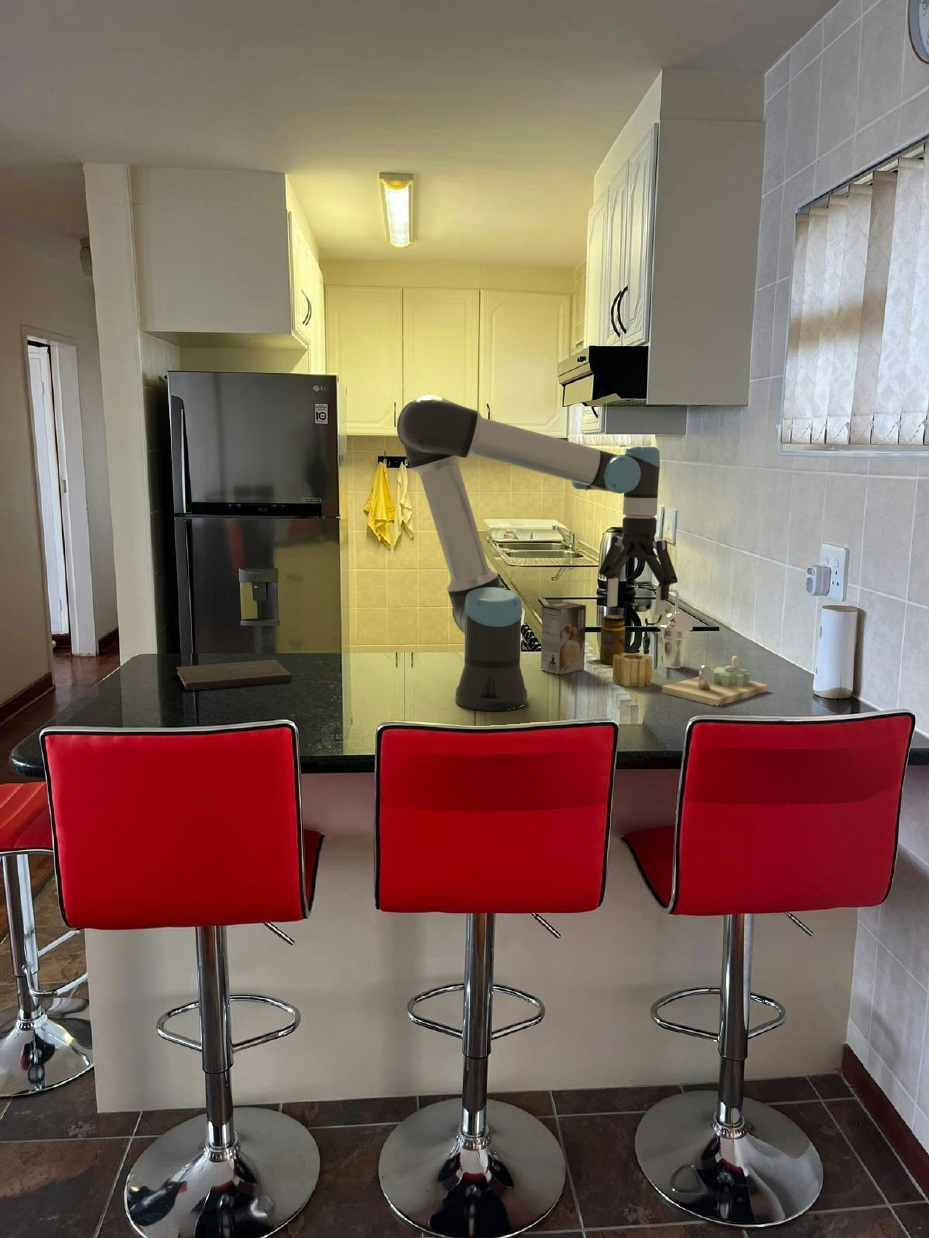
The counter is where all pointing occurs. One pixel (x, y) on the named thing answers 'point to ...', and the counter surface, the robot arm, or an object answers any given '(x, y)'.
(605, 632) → the condiment
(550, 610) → the brown and white box
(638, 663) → the brass gear
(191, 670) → the hardcover book
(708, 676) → the steel peg
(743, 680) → the crank gear
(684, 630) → the cup with straw
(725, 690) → the board
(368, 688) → the counter surface
